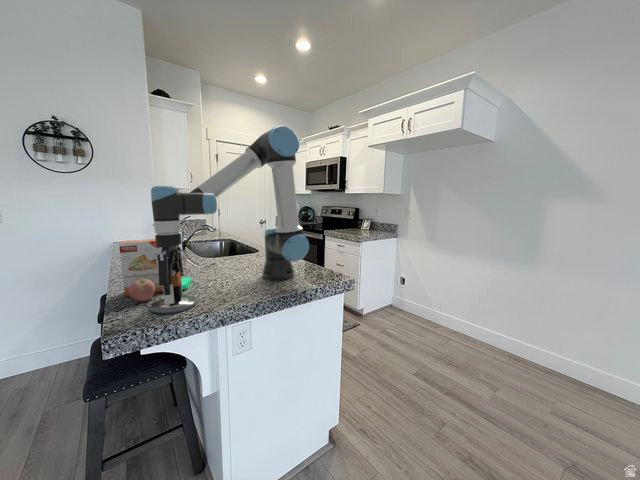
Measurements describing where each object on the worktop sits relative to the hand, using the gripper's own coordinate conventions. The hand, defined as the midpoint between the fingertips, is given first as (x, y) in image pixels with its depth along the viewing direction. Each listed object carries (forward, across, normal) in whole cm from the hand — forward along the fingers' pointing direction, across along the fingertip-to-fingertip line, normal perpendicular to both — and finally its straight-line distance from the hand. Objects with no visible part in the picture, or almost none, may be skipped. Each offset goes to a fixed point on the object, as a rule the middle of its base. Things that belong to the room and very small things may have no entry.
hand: (174, 298), depth 91 cm
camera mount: (+3, -21, -6) cm, 22 cm away
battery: (+1, 0, 0) cm, 1 cm away
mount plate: (+3, 0, 0) cm, 3 cm away
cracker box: (+3, -17, -16) cm, 24 cm away
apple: (+3, -7, -13) cm, 15 cm away
